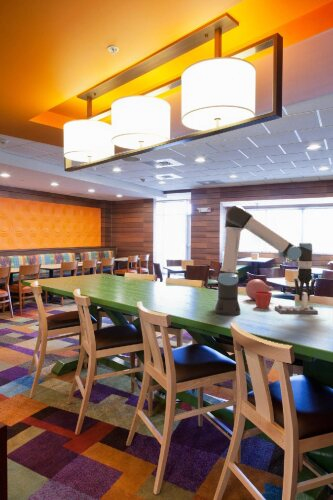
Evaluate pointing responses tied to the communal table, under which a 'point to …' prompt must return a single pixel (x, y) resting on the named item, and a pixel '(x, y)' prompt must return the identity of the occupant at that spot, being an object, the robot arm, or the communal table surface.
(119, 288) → the communal table surface
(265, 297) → the flower pot
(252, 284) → the balloon
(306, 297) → the fader tab
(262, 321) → the communal table surface
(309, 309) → the console
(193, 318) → the communal table surface
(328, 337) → the communal table surface
